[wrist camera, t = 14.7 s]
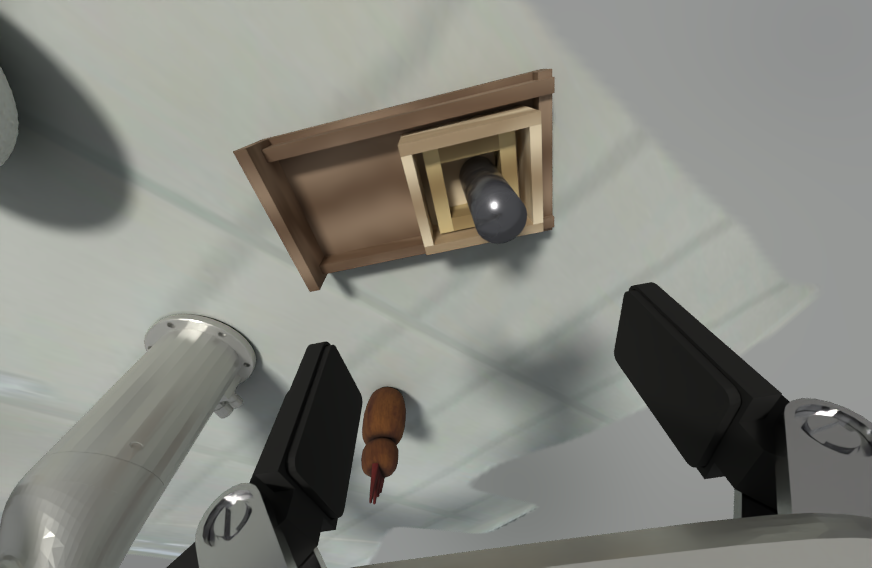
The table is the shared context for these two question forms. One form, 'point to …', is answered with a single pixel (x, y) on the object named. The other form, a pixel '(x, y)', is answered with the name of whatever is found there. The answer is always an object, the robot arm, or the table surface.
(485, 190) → the handle peg
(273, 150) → the tray
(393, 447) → the wooden figurine
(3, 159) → the cereal bowl
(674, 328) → the robot arm
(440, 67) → the table surface
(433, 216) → the crate
